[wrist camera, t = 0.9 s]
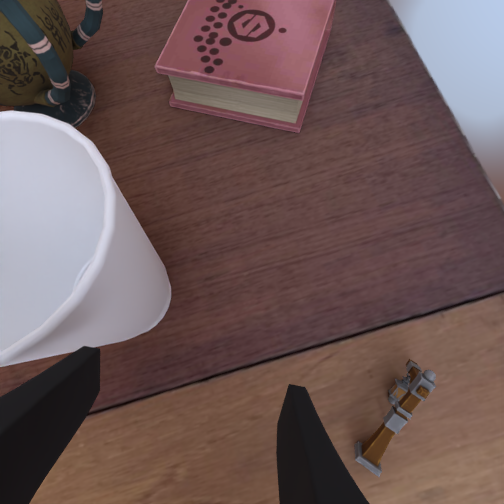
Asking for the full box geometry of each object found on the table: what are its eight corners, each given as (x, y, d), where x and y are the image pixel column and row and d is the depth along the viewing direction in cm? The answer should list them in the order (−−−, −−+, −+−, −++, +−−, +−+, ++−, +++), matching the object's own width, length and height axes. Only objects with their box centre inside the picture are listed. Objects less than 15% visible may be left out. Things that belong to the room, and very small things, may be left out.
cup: (43, 294, 29) (-214, 223, 13) (146, 210, 31) (24, 67, 16) (117, 399, 25) (-111, 463, 10) (226, 298, 28) (171, 227, 12)
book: (331, 27, 37) (340, -22, 32) (299, 133, 32) (303, 94, 28) (215, 9, 39) (208, -39, 34) (170, 106, 35) (154, 66, 30)
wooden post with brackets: (431, 359, 24) (449, 385, 20) (373, 438, 25) (379, 479, 21) (408, 345, 25) (422, 368, 20) (353, 424, 26) (355, 461, 22)
